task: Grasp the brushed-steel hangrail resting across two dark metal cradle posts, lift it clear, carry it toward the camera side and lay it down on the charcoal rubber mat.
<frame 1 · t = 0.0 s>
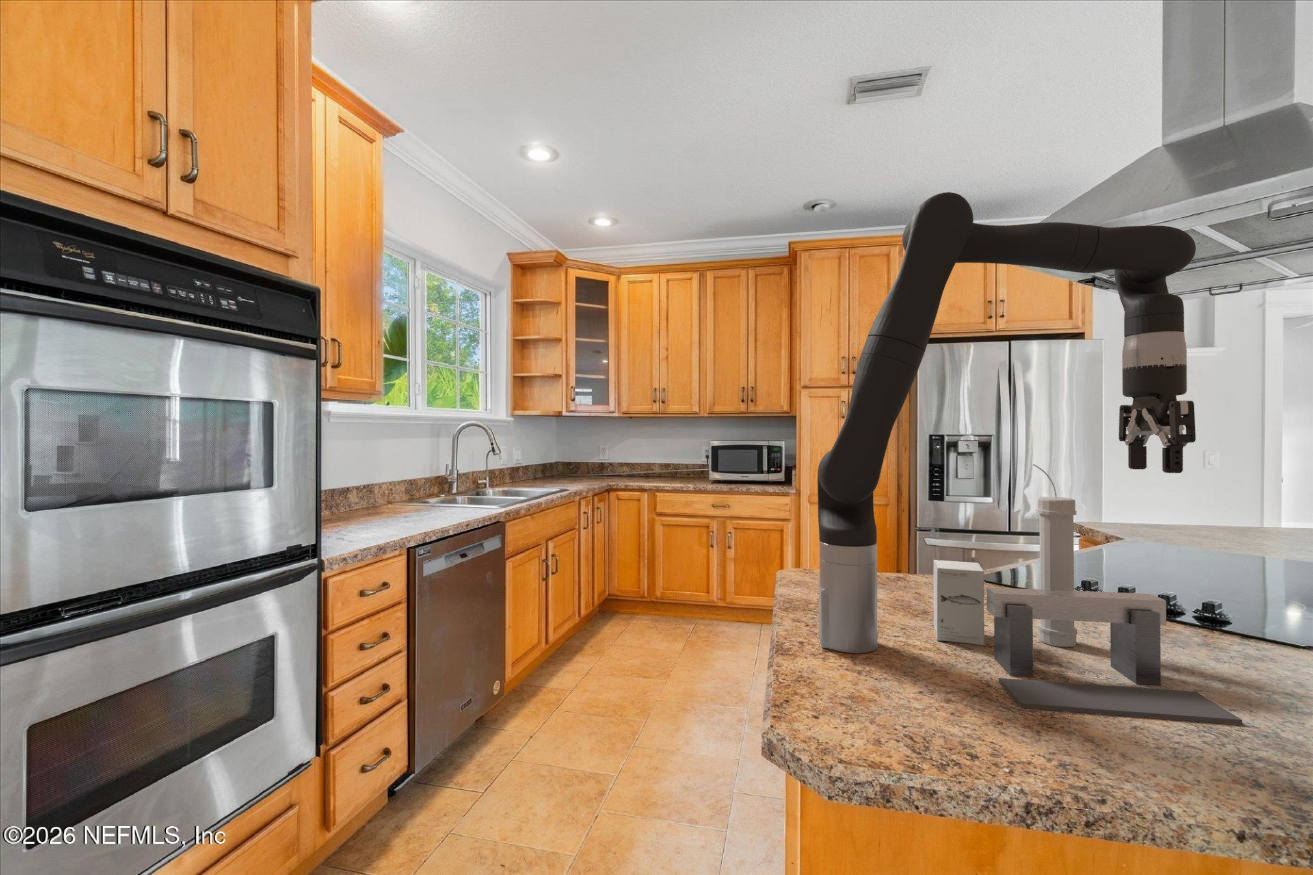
hand: (1154, 471, 90), 29 cm above the counter, fingers open, 8 cm apart
supplement box: (958, 638, 102), on the counter
post 1: (1013, 667, 88), on the counter
post 2: (1134, 675, 85), on the counter
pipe: (1054, 643, 99), on the counter
rail: (1072, 617, 87), point 8 cm above the counter, touching post 2, post 1
mat: (1110, 701, 77), on the counter
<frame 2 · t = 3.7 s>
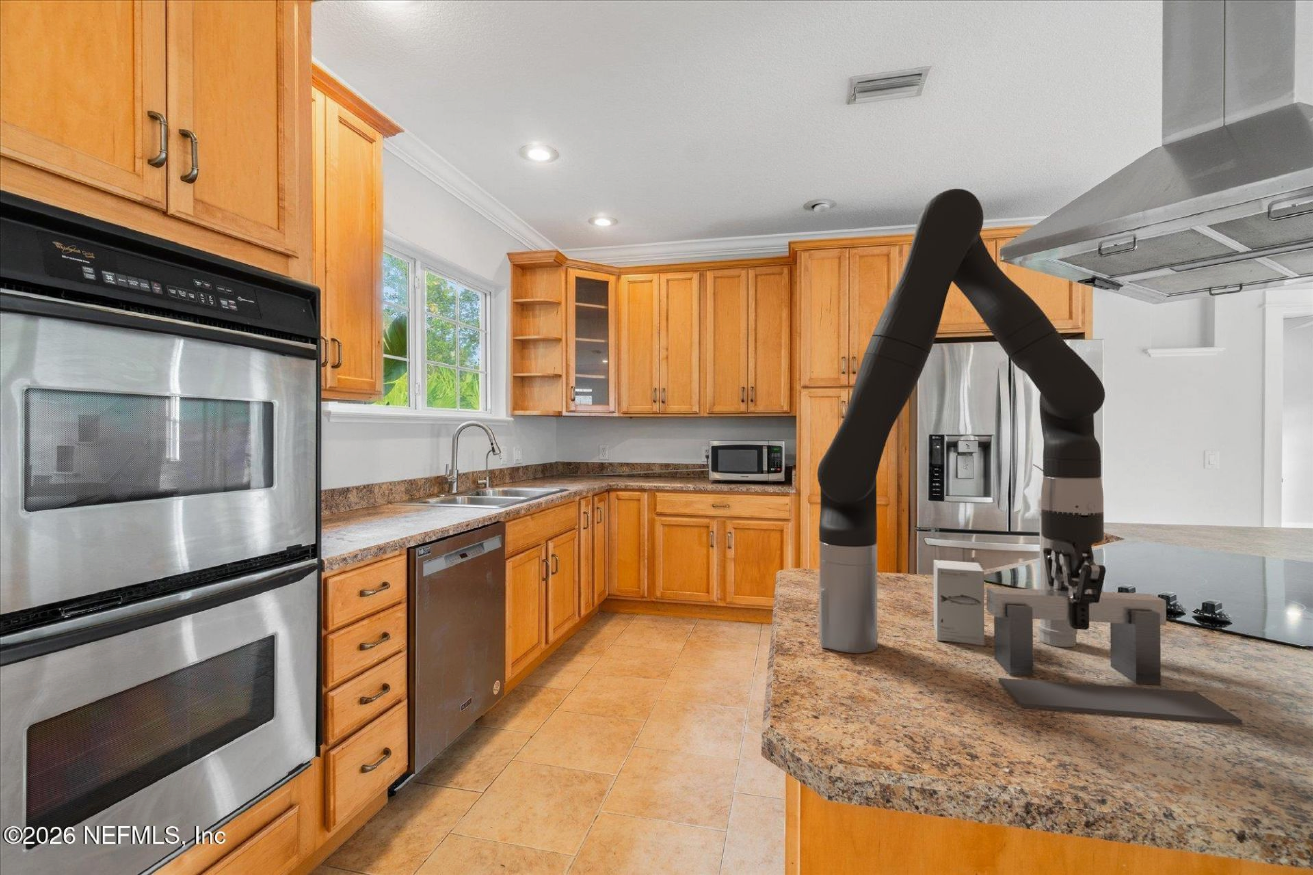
hand: (1072, 623, 87), 7 cm above the counter, fingers closed on rail, 3 cm apart
rail: (1072, 617, 87), point 8 cm above the counter, touching gripper, post 2, post 1
everything else where it was.
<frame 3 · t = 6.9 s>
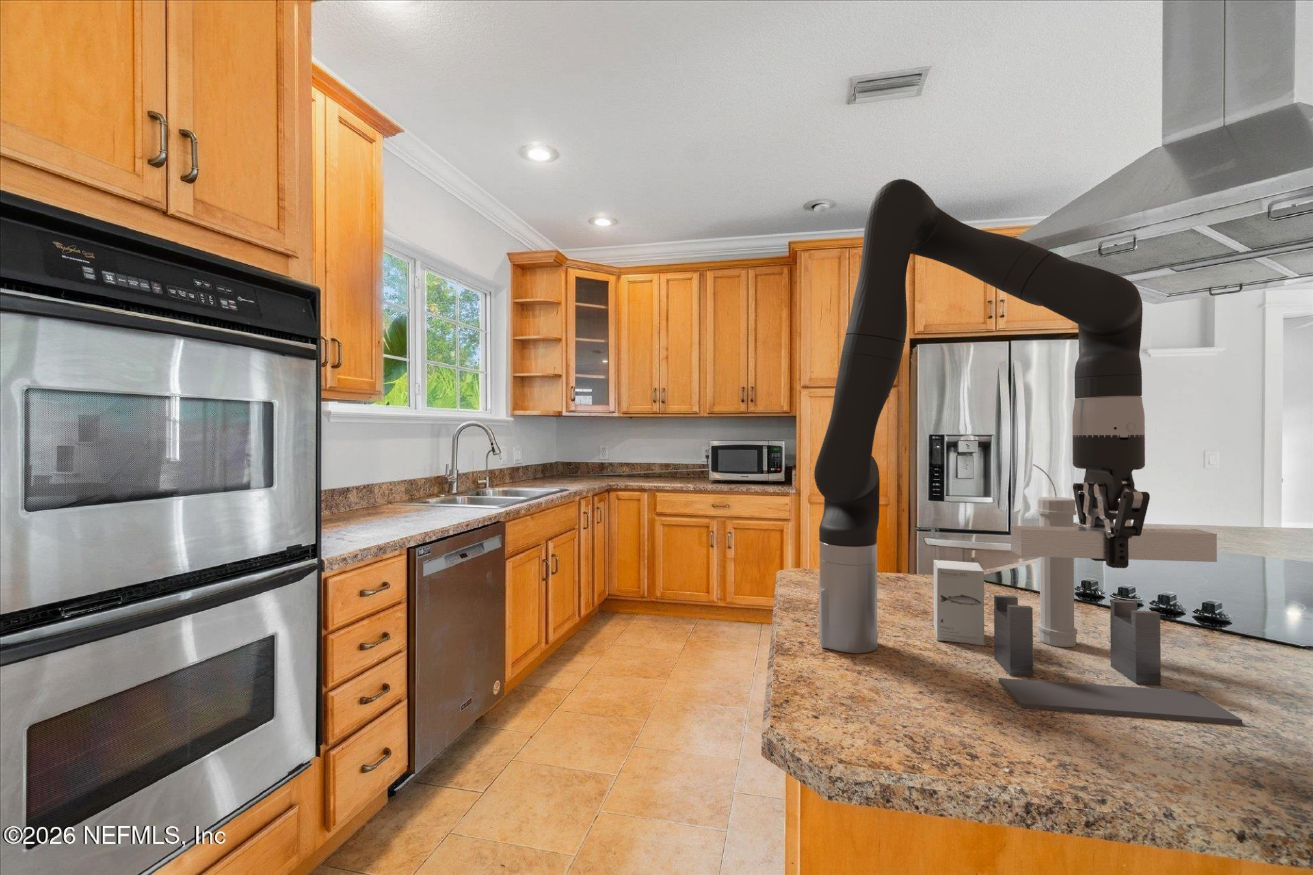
hand: (1108, 563, 77), 18 cm above the counter, fingers closed on rail, 3 cm apart
rail: (1108, 556, 77), point 19 cm above the counter, touching gripper
everything else where it was.
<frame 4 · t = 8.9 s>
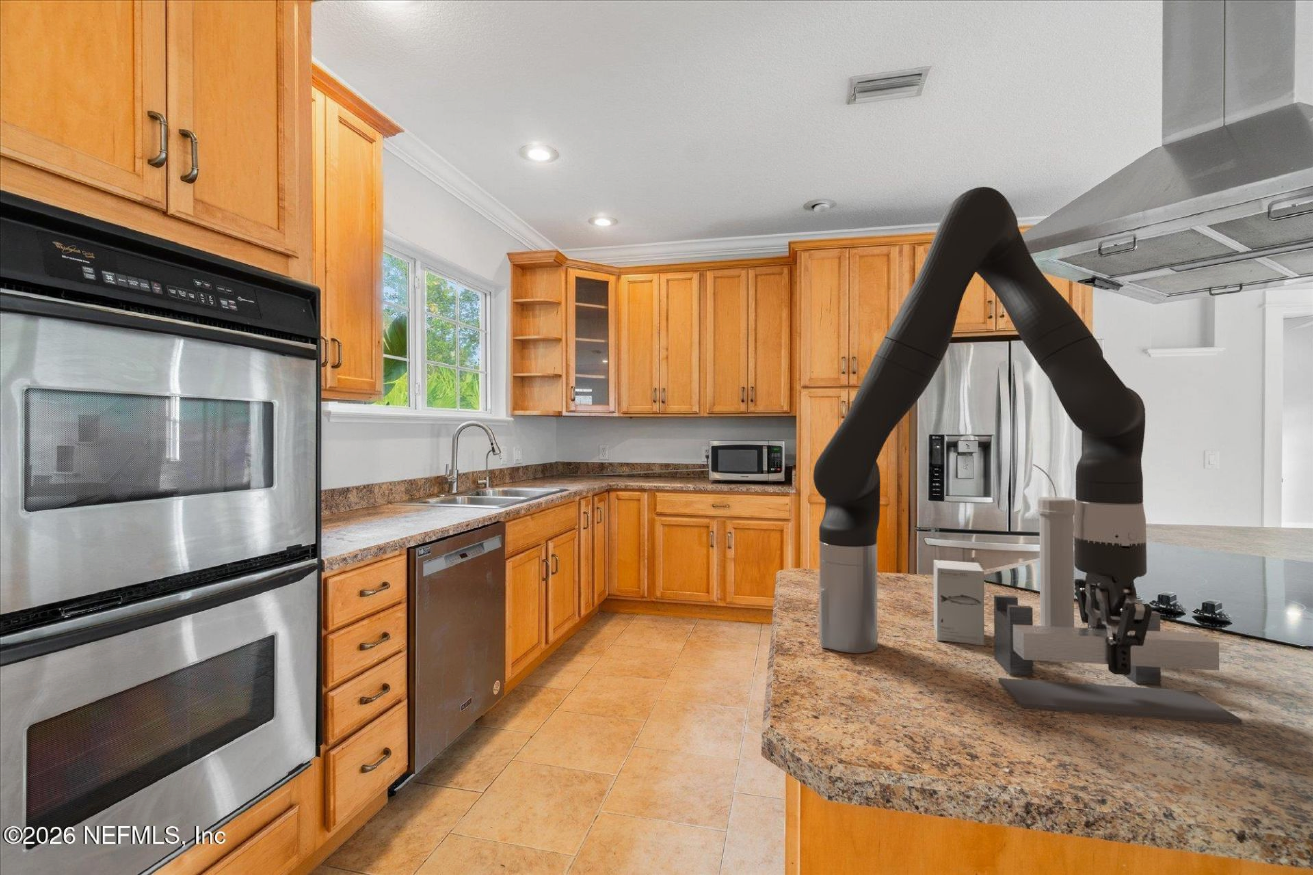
hand: (1110, 666, 77), 5 cm above the counter, fingers closed on rail, 3 cm apart
rail: (1111, 659, 77), point 5 cm above the counter, touching gripper
everything else where it was.
when the fingers open (1 cm above the counter, at t = 10.5 s): rail drops 1 cm, resting on mat.
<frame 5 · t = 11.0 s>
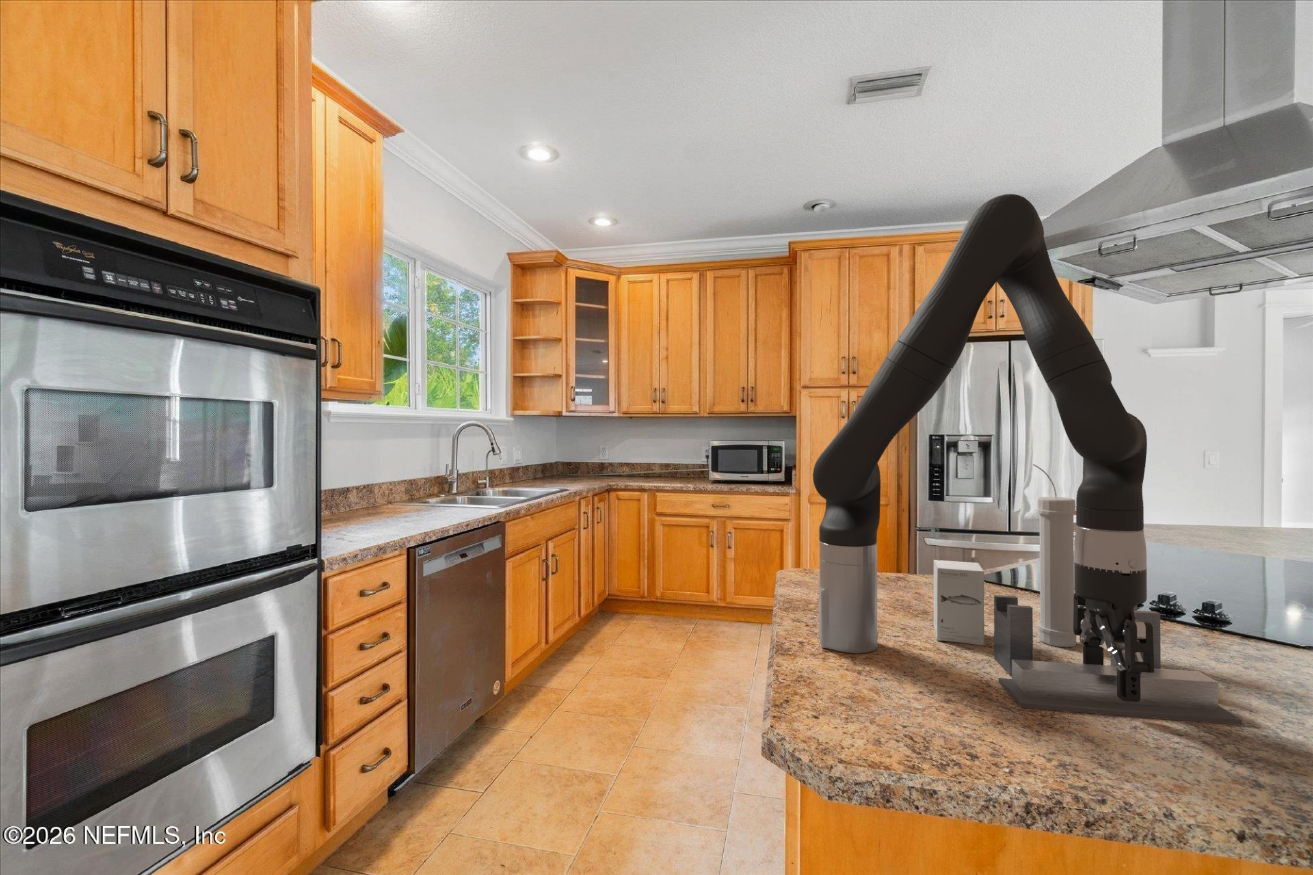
hand: (1110, 686, 77), 2 cm above the counter, fingers open, 8 cm apart
rail: (1109, 696, 77), point 1 cm above the counter, touching mat
everything else where it was.
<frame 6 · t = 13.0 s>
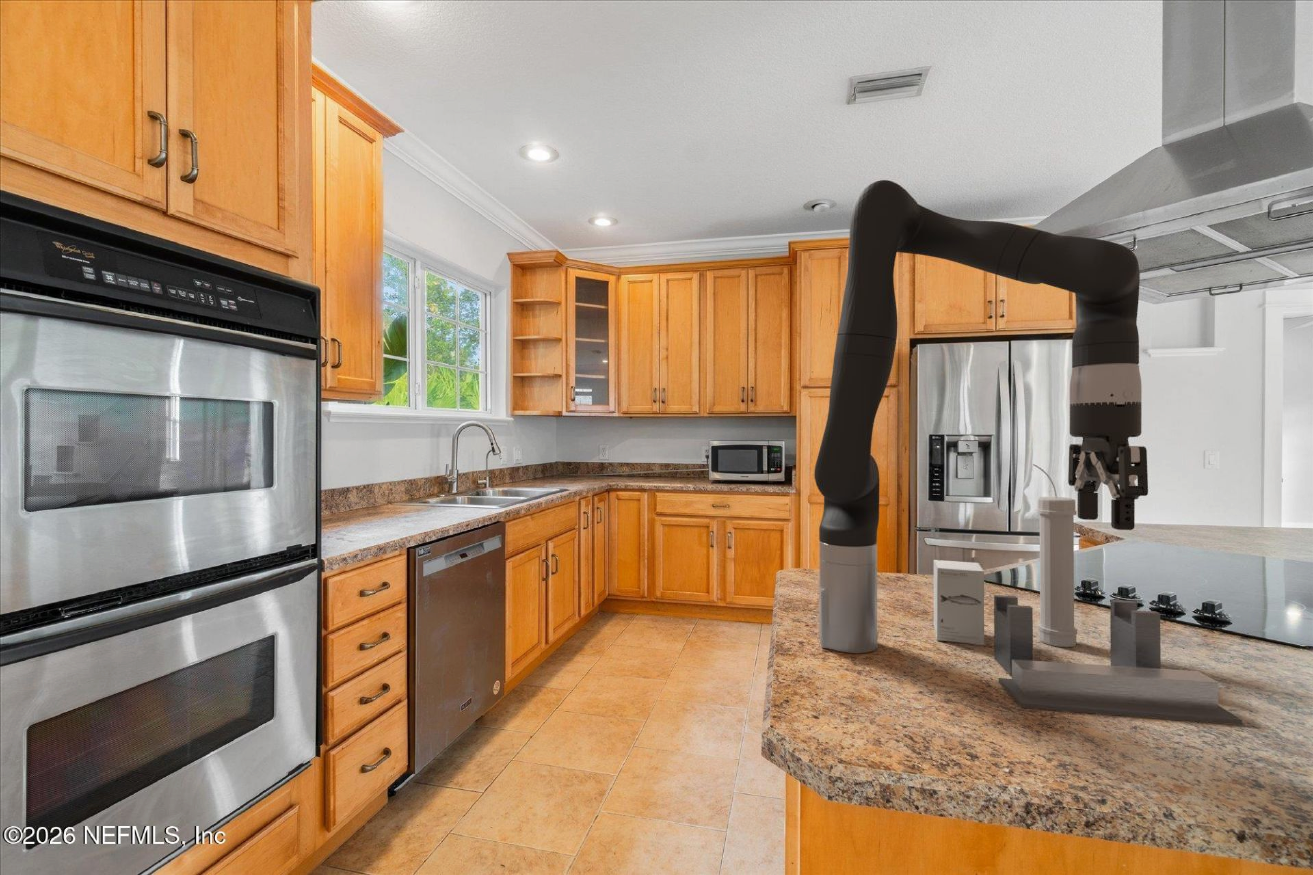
hand: (1104, 524, 77), 23 cm above the counter, fingers open, 8 cm apart
nothing on the counter moved.
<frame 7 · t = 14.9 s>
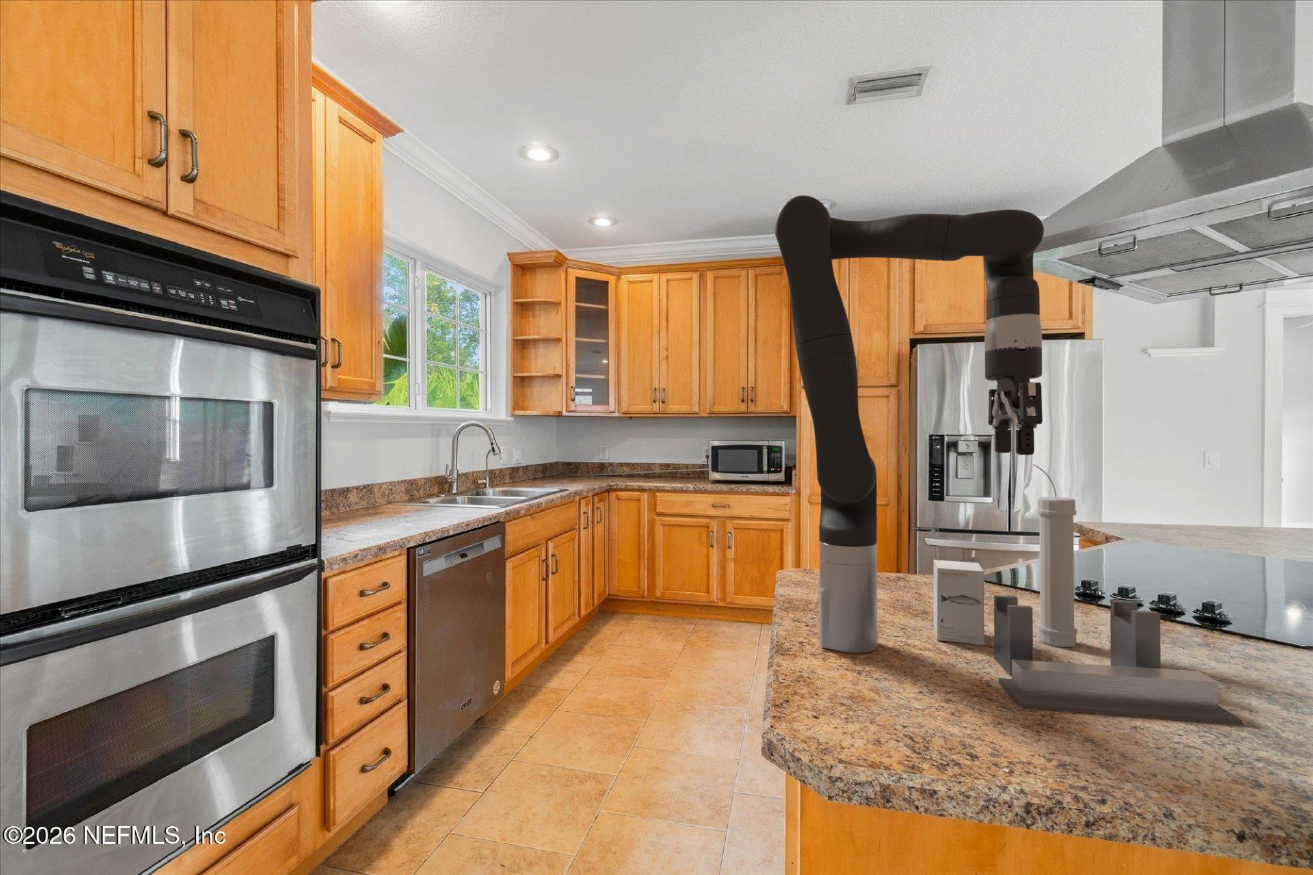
hand: (1013, 453, 90), 32 cm above the counter, fingers open, 8 cm apart
nothing on the counter moved.
at the end: rail inside the target area on the mat (0.1 cm from its centre), point 0.6 cm above the mat's base; rail point 0.6 cm above the counter; the gripper is holding nothing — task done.
